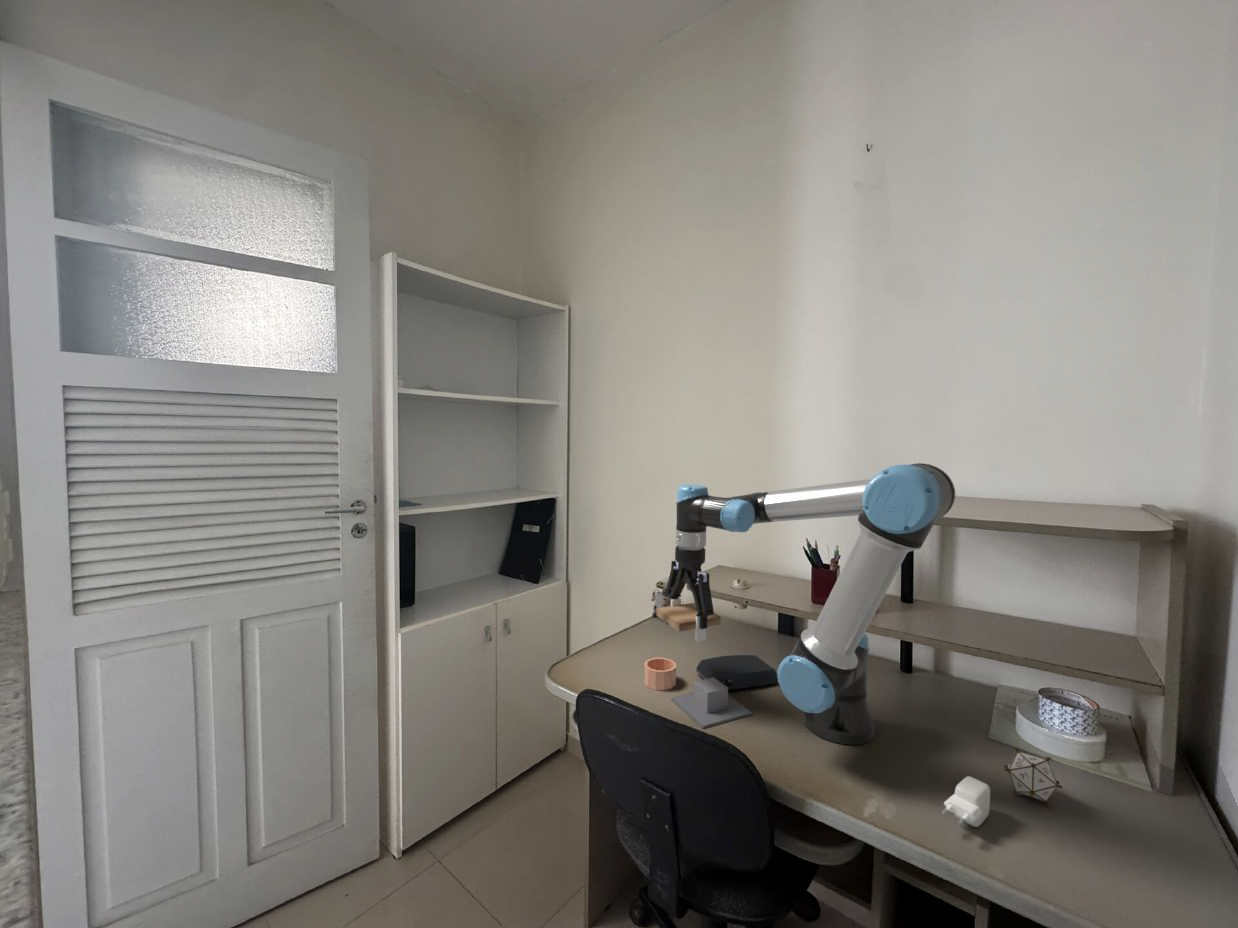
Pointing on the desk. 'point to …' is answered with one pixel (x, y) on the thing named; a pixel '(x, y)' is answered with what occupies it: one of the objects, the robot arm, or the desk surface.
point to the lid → (684, 617)
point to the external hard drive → (737, 671)
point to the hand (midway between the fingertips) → (687, 631)
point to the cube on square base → (710, 703)
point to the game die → (1032, 776)
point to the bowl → (660, 674)
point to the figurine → (661, 596)
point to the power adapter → (969, 802)
